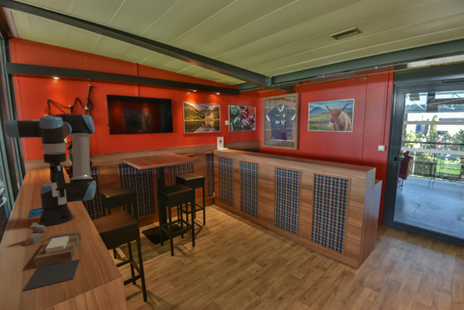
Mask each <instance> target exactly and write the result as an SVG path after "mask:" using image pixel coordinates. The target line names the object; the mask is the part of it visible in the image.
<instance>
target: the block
mask: <svg viewBox="0 0 464 310" xmlns="http://www.w3.org/2000/svg"><path fill="white" fill-rule="evenodd" d="M68 241H69V236H64V237H58V238H52V240H51V241H50V243H49V244H48V246H47V247H46V249H45V250H46V253H50V252H55V251H61V250H64V249H65V247H66V245H67V243H68Z"/></svg>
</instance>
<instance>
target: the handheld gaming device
mask: <svg viewBox="0 0 464 310" xmlns="http://www.w3.org/2000/svg"><path fill="white" fill-rule="evenodd" d="M41 213H42V207H36V208H31V209H30V211H29V215H28V218H32V217H33V218H34V217H38V216H39V217H40V216H41Z"/></svg>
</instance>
